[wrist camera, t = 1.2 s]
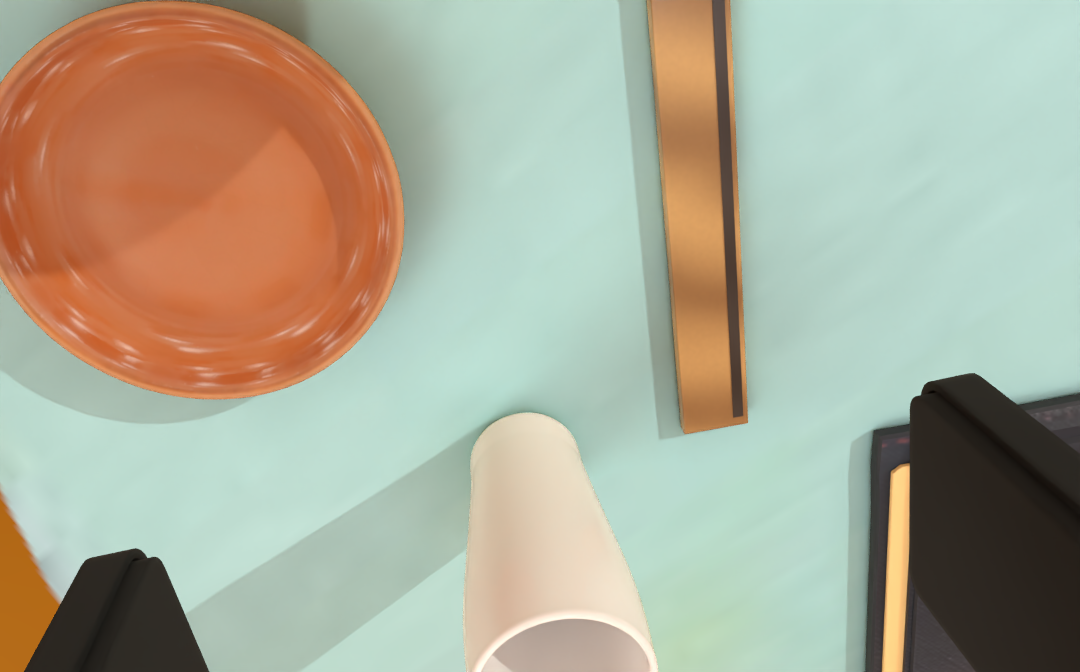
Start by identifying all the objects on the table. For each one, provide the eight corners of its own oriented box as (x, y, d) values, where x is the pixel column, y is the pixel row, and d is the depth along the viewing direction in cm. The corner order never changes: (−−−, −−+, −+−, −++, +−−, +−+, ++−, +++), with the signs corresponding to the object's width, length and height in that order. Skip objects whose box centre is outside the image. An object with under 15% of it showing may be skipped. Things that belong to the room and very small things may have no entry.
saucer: (381, -18, 35) (376, -13, 32) (424, 352, 42) (424, 383, 39) (-52, 9, 34) (-94, 17, 31) (66, 386, 40) (40, 420, 38)
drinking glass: (487, 530, 46) (511, 783, 33) (431, 426, 43) (433, 657, 30) (610, 480, 46) (686, 717, 32) (562, 373, 43) (624, 582, 29)
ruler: (622, -294, 32) (627, -299, 31) (710, -307, 32) (717, -312, 31) (680, 426, 45) (684, 435, 44) (743, 415, 45) (748, 424, 44)
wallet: (1114, 689, 54) (866, 731, 53) (1093, 666, 56) (852, 705, 55) (1184, 397, 45) (889, 441, 44) (1156, 380, 47) (872, 421, 46)
